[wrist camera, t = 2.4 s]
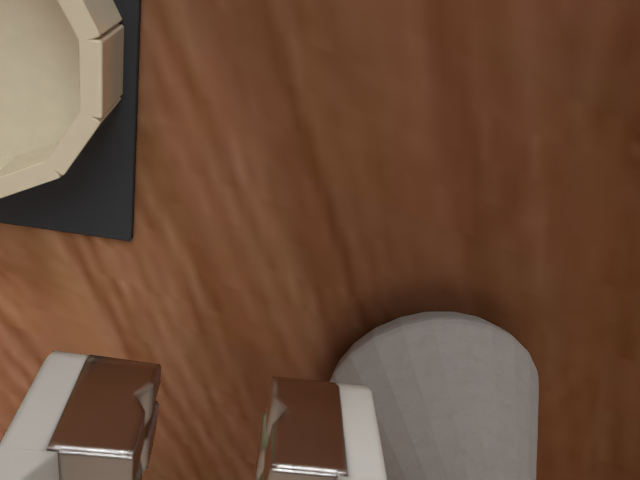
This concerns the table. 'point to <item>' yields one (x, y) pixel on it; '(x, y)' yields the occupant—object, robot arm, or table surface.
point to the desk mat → (93, 166)
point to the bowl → (55, 84)
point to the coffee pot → (448, 397)
